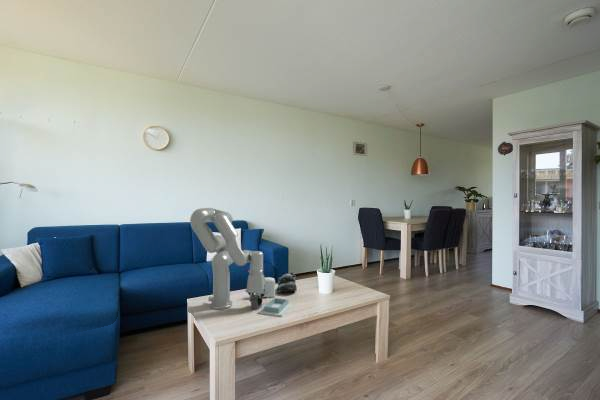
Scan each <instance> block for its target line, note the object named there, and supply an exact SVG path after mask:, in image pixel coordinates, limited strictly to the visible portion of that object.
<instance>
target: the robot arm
mask: <svg viewBox="0 0 600 400" xmlns="http://www.w3.org/2000/svg"><path fill="white" fill-rule="evenodd" d="M233 220H234V219H233V216H232V214H231V213H229V212H227V211H223V210H220V209H217V208H213V207H202V208H201V207H200V208H197V209H195V210H194V211H193V212H192V213H191V216H190V219H189V221H190V222H189V223H190V226H191V229H192V230H193V232H194V233H195V235H196V236H197V239H198V240H199V241H200V243H201V245H202V246H203V248H204V249H205V251H206V252H207V253H209V254H213V253H216V254H214V256H213V257H212V260H211V267H212V295H213V296H208V299H207V301H208V302H211V303H210V308H211V309H213V310H224V309H228V308H231V307H232V306H233V301H232V300H231V299H230V298H231V297H230V295H231V293H230V292H231V291H230V289H231V287H230V285H231V284H230V283H231V277H230V275H231V273H230V268H229V266H230V265H231V264H233V263H234V264H235V265H236V266H238V267H243V266H245V265H246V264H248V263H249V269H248V271H247V272H248V273H249V274H248V278H247V282H246V288H245V292H246V293H247V294H248V295H249V298H251V297H252V296H253V295H255V294H256V293H257V294H259V299H258V305H261V304H262V305H263V298H264V297H263V296H264V295H266V294H267V293H268V292H267V290H266V288H265V278H266V277H265V274H264V253H263V251H260V250H254V251H253V250H248V249H244V250H242V249H241V248H240V246H239V243H238V236H239V235H238V234H239V233H238V231H237V229H236V228H235V227H234V225H233ZM209 222H210V223H213V224H214V226H215V228H217V230H218V233H220V234H217V235H216V234H214V233H213V231H212V229H211V228H210V226H209V225H207V224H206V223H209ZM263 292H264V293H263Z"/></svg>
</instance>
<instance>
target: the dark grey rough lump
mask: <svg viewBox="0 0 600 400" xmlns="http://www.w3.org/2000/svg"><path fill="white" fill-rule="evenodd" d="M296 276H297V275H295V274H294V273H293V272H290V273H285V274H282V275H281V277H278V278H277V287H276V293H277V294H280V293H285V292H296V291H297V288H298V287H297V285H296V279H297V278H296Z"/></svg>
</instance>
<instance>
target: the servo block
mask: <svg viewBox="0 0 600 400" xmlns="http://www.w3.org/2000/svg"><path fill="white" fill-rule="evenodd" d="M258 299H259V294H257V293H254V295H253V296H252V297H250V299H249V301H248V302H250V310H254V311H259V310H260V309H261V308H262V307H263V303H262V304H261V305H258Z"/></svg>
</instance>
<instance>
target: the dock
mask: <svg viewBox="0 0 600 400" xmlns="http://www.w3.org/2000/svg"><path fill="white" fill-rule="evenodd" d="M293 306H294V302H293V303H292V302H289V299H287V298H279V297H273V299H272V300H270V301H269V302H268V303H267V304H265V305H264V306H263V308H262V307H261V308H260V309H259V310H258V314H259V315H260V314H261V315H266V316H273V317H281V318H283V316H285V314H287V312H288V311H289V310H290V309H291V308H293Z"/></svg>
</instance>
